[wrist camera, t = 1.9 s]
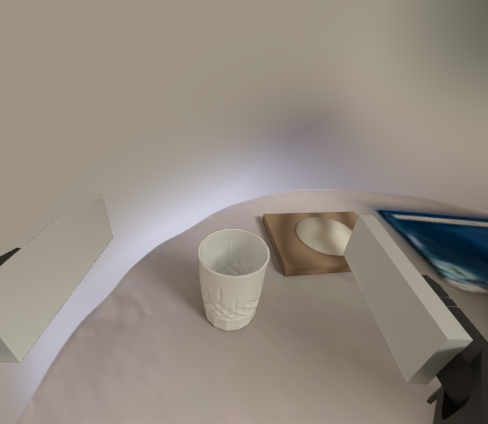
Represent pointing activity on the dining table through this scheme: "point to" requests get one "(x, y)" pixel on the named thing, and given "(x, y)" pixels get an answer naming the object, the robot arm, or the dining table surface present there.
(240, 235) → the white cup
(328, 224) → the walnut board
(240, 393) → the dining table surface
